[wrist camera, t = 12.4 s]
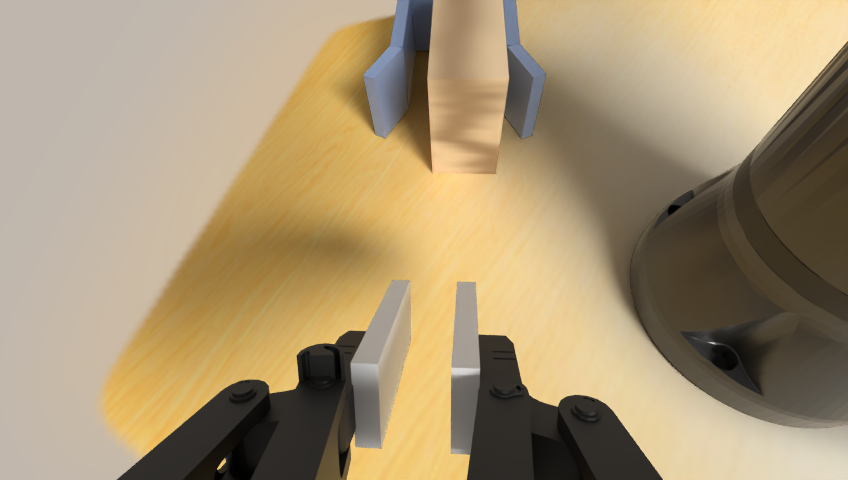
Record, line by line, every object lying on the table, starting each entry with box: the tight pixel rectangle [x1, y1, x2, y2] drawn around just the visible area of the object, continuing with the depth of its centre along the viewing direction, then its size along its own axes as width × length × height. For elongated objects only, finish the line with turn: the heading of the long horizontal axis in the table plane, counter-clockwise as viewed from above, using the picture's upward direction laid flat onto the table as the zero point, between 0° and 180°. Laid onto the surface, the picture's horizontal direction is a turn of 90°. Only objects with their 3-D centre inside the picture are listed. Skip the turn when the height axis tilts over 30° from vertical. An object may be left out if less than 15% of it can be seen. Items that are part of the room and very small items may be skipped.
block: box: [427, 0, 509, 174], centre depth 32 cm, size 5×12×9 cm, turn 177°
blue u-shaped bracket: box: [363, 0, 546, 139], centre depth 36 cm, size 13×13×6 cm
